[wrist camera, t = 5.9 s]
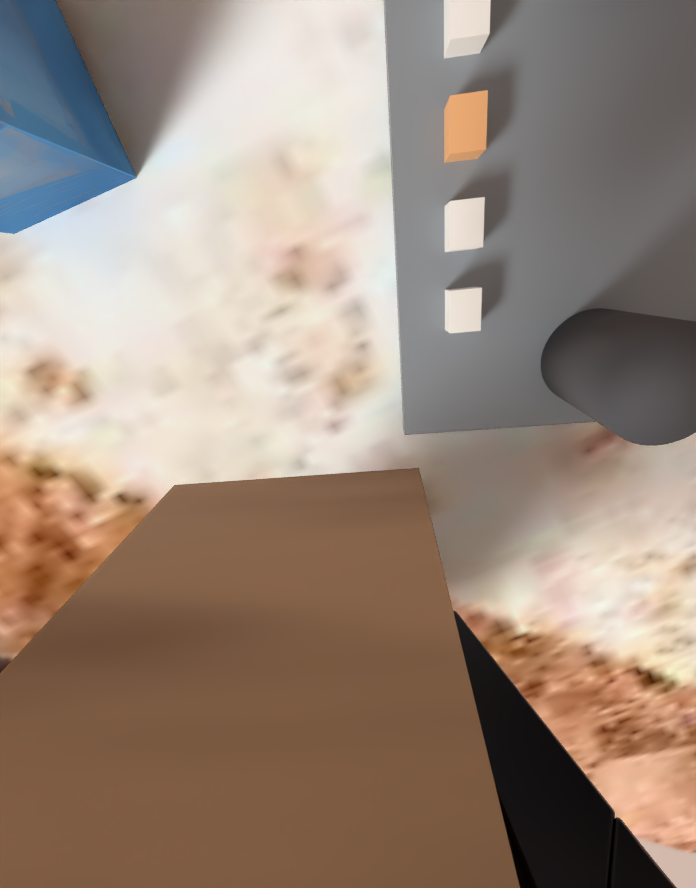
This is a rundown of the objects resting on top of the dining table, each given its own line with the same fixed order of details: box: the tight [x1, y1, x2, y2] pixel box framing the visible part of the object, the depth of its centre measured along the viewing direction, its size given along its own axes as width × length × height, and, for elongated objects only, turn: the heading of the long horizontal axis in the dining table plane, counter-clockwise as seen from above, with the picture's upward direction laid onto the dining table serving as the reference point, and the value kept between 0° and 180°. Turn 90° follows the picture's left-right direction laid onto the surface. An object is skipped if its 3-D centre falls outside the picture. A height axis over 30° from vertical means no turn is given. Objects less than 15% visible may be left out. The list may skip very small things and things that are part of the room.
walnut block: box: [0, 468, 520, 888], centre depth 6 cm, size 5×5×7 cm
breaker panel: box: [384, 0, 696, 435], centre depth 14 cm, size 20×16×2 cm
